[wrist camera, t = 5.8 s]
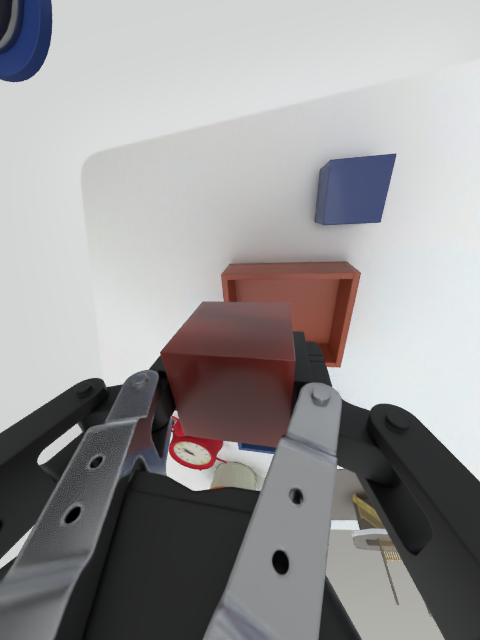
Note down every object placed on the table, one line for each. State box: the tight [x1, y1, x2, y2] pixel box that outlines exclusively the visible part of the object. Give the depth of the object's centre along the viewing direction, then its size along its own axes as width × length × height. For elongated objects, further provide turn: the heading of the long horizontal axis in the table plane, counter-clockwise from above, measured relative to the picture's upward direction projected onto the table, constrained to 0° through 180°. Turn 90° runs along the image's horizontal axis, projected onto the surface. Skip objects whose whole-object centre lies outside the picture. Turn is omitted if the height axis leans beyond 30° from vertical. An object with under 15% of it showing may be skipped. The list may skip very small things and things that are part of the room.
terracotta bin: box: [221, 262, 361, 367], centre depth 25 cm, size 13×11×4 cm
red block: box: [160, 302, 296, 447], centre depth 10 cm, size 4×4×4 cm
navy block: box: [315, 154, 396, 225], centre depth 18 cm, size 4×4×4 cm
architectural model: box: [331, 469, 432, 616], centre depth 37 cm, size 21×25×14 cm
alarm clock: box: [169, 416, 227, 471], centre depth 41 cm, size 10×6×15 cm
